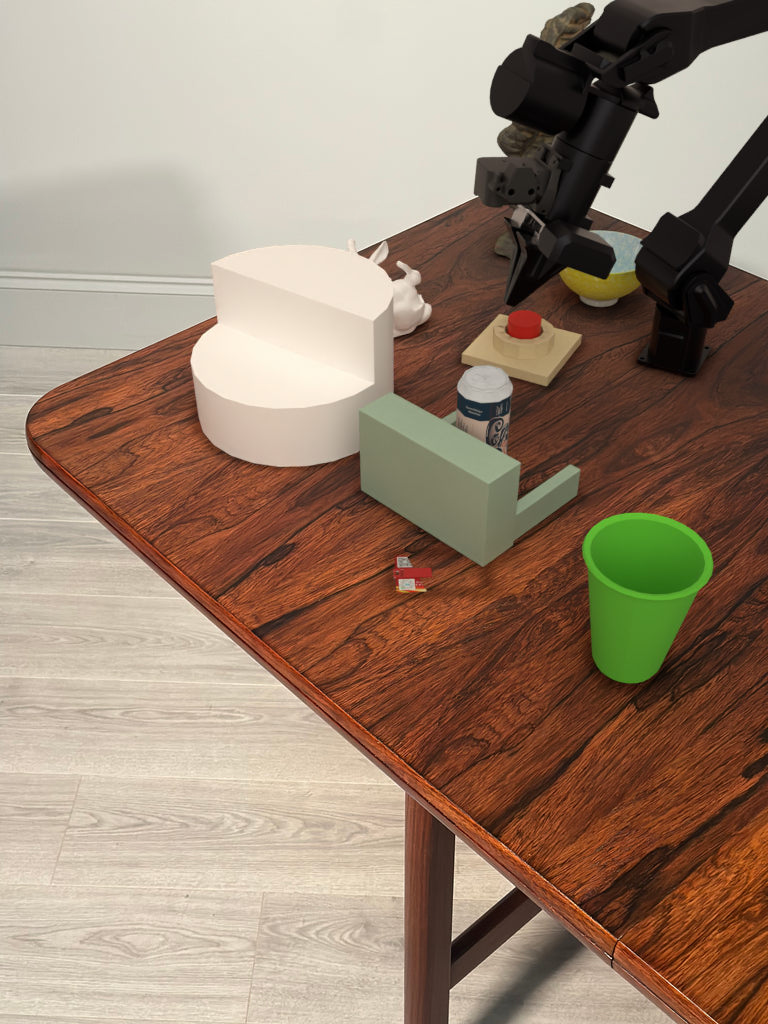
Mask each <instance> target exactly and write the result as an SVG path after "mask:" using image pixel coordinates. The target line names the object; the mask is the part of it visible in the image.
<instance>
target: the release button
mask: <svg viewBox="0 0 768 1024" xmlns="http://www.w3.org/2000/svg"><path fill="white" fill-rule="evenodd" d="M508 316H509V317H508V326H507V333H508V335H510V336H511V337H514V338H518V339H534V338H537V337H539V335H540V332H541V322H542V319H543V318H542V316H541V315H540V314H539V313H537V312H535V311H532V310H526V309H525V310H524V309H523V310H522V309H521V310H516V311H513V312H511V313H510V314H509V315H508Z"/></svg>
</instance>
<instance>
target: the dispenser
mask: <svg viewBox="0 0 768 1024" xmlns="http://www.w3.org/2000/svg"><path fill="white" fill-rule="evenodd" d="M456 414H457V409H455V410H454V411H452V412H450V413H449V414H447V415H446V416H444V417H442V418H440V417H439V416H436V415H434V414H432V413H431V412H429V411H427V410H425V409H423V408H421V407H420V406H418V405H416V404H414V403H413V402H410V401H409V400H407V399H405V398H403V397H401V396H400V395H398V394H396V393H392V392H390V393H388V394H386V395H384V396H382V397H380V398H379V399H377V400H375V401H373V402H371V403H370V404H368V405H366V406H364V407H362V408H360V409H359V438H360V451H359V467H360V468H359V469H360V471H359V473H360V491H361V492H363V493H365V494H366V495H368V496H370V497H371V498H373V499H374V500H375V501H378V503H380V504H382V505H383V506H385V507H387V508H389V509H390V510H392V511H393V512H395V513H396V514H398V515H400V516H401V517H403V518H405V519H406V520H407V521H409V522H411V524H414V525H415V526H417V527H418V528H420V529H422V530H423V531H425V532H426V533H428V534H429V535H431V536H433V537H434V538H436V539H438V540H439V541H441V542H442V543H444V544H445V545H447V546H449V547H450V548H451V549H453V550H455V551H456V552H459V553H460V554H461V555H463V556H464V557H466V558H468V559H469V560H471V561H472V562H474V563H476V564H477V565H479V566H480V567H482V568H484V567H485V566H487V565H488V564H489V563H491V562H492V561H494V560H495V559H496V558H498V557H499V556H501V555H502V554H503V553H505V552H506V551H507V550H509V549H510V548H511V547H513V546H514V542H515V541H516V540H517V539H519V538H520V537H521V536H523V535H524V534H526V533H527V532H529V531H530V530H532V529H533V528H534V527H535V526H537V525H538V524H539V523H541V522H542V521H544V520H545V519H547V518H548V517H549V516H551V515H552V514H553V513H555V512H556V511H557V510H559V509H560V508H561V507H563V506H564V505H566V504H567V503H568V502H570V501H571V500H572V499H574V498H576V496H578V493H579V485H580V484H579V483H580V477H581V471H582V470H581V469H580V468H579V467H577V466H575V465H573V464H571V463H570V464H568V465H567V466H565V467H564V468H563V469H562V470H560V471H558V472H557V473H556V474H554V475H553V476H551V477H549V478H548V479H547V480H545V481H544V482H543V483H541V484H539V485H538V486H537V487H535V488H534V489H532V490H531V491H530V492H528V493H527V494H525V495H524V496H522V497H521V498H520V499H518V498H519V487H520V486H519V485H520V477H521V476H520V475H521V467H522V463H521V461H519V460H517V459H515V458H513V457H512V456H510V455H508V454H507V455H506V454H504V453H502V452H501V451H499V450H497V449H495V448H493V447H491V446H490V445H488V444H486V443H484V442H482V441H480V440H479V439H477V438H475V437H473V436H471V435H469V434H467V433H466V432H464V431H462V430H460V429H458V428H456Z"/></svg>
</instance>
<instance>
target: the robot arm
mask: <svg viewBox="0 0 768 1024" xmlns="http://www.w3.org/2000/svg"><path fill="white" fill-rule="evenodd" d="M766 32H768V0H611V1H610V2H609V3H608V4H606V5H605V6H604V7H603V11H602V13H601V14H600V16H599V17H598V18H597V19H596V20H595V21H593V22H591V23H590V24H589V25H588V26H587V27H586V28H585V29H584V30H582V31H581V32H580V33H578V34H577V35H576V36H574V37H573V38H571V39H570V40H569V41H567V42H566V43H565V44H563V45H562V46H561V47H559V48H558V49H557V48H555V47H554V46H553V45H552V44H550V43H548V42H546V41H544V40H543V39H541V38H540V36H536V35H534V34H532V33H529V34H527V35H525V36H526V37H525V39H524V40H523V41H524V42H523V43H522V45H521V47H520V46H519V47H518V48H516V49H514V50H513V51H511V52H510V53H509V54H508V55H507V56H506V57H505V58H504V60H503V62H502V63H501V64H499V65H497V68H496V70H495V72H494V74H493V77H492V80H491V84H490V89H489V106H490V109H491V111H492V113H493V114H494V115H495V116H497V117H499V118H502V119H504V120H507V121H510V122H511V123H512V122H515V123H517V124H520V125H522V126H525V127H528V128H530V129H533V130H536V131H538V132H541V133H543V134H546V135H550V136H553V135H557V136H555V139H554V141H553V143H552V145H550V144H547V143H545V142H543V145H542V146H541V145H540V146H539V147H538V148H537V151H536V153H535V155H534V156H533V158H522V157H507V156H480V157H478V158H476V163H475V164H476V165H475V173H474V184H473V195H474V196H476V197H478V198H479V199H480V201H481V204H482V205H483V206H484V207H489V208H493V209H498V208H503V207H504V206H508V205H515V206H517V207H516V209H515V211H514V210H513V213H512V216H511V218H510V217H508V216H503V219H502V220H503V223H504V224H505V226H506V228H507V231H509V234H510V236H511V239H512V251H511V259H510V258H509V267H508V271H507V278H506V283H505V290H504V294H503V302H504V303H505V305H507V306H508V307H512V308H516V307H517V306H519V304H521V303H522V302H524V301H525V300H526V299H527V298H529V297H530V296H531V295H532V294H533V293H535V292H536V291H537V290H538V289H540V288H541V287H542V286H544V285H545V284H546V283H547V282H549V281H550V280H551V279H553V278H554V277H556V276H558V275H559V273H560V272H561V271H563V270H564V269H566V268H567V267H569V268H572V269H575V270H577V271H580V272H583V273H586V274H589V275H591V276H594V277H597V278H600V279H603V280H606V279H607V278H608V276H609V274H610V272H611V270H612V268H613V266H614V265H615V263H616V261H617V260H616V256H615V253H614V249H613V247H612V246H611V245H610V244H608V243H607V242H606V241H605V240H604V239H603V238H602V237H601V236H600V235H598V234H596V233H593V232H590V231H591V230H590V229H591V228H592V225H593V224H594V219H592V218H591V217H590V216H589V215H588V214H589V212H590V210H591V208H592V206H593V204H594V202H595V200H596V198H597V196H598V194H599V192H600V190H601V189H602V187H604V188H607V189H609V190H610V189H611V188H612V186H613V184H614V182H615V180H616V177H614V176H613V175H611V173H609V172H610V170H611V168H612V166H613V164H614V161H615V159H616V158H617V156H618V154H619V152H620V150H621V147H622V145H623V144H624V142H625V139H626V138H627V136H628V134H629V132H630V130H631V127H632V126H633V124H634V122H635V120H636V118H637V116H638V114H640V115H642V116H644V117H647V118H650V119H651V120H657V119H658V118H659V117H660V111H659V108H658V104H657V102H656V99H655V95H654V93H655V92H654V91H655V88H654V86H652V85H657V84H658V83H661V82H663V81H665V80H667V79H668V78H671V77H672V76H674V75H677V74H678V73H680V72H683V71H684V70H686V69H688V68H689V67H690V66H691V65H692V64H693V63H694V61H695V60H697V58H698V57H699V56H700V55H701V54H703V53H706V52H707V51H709V50H711V49H715V48H717V47H719V46H723V45H726V44H730V43H733V42H734V43H735V42H737V41H740V40H743V39H747V38H750V37H754V36H757V35H760V34H763V33H766ZM595 79H597V80H595ZM594 80H595V81H594ZM767 198H768V114H767V115H766V116H765V118H763V120H762V121H761V123H760V124H759V125H758V127H756V129H755V130H754V132H753V133H752V134H751V136H750V137H749V138H748V140H746V142H745V143H744V145H743V146H742V147H741V148H740V149H739V150H738V152H737V153H736V155H735V156H734V157H733V158H732V160H731V161H730V163H729V164H728V165H727V166H726V168H725V169H724V170H723V172H722V173H720V175H719V177H718V178H717V179H716V180H715V181H714V183H713V184H712V185H711V187H710V188H709V190H707V192H706V193H705V194H704V196H703V197H702V198H701V199H700V201H699V202H698V203H697V205H695V206H694V208H692V209H690V210H689V211H686V212H685V213H683V214H680V215H678V216H676V215H675V214H673V213H672V212H670V211H666V212H664V214H663V215H661V216H660V217H659V219H658V220H657V222H656V224H655V225H654V227H653V229H652V230H651V231H650V232H649V233H648V235H647V236H645V237H644V238H643V239H642V240H641V241H640V244H641V245H642V248H641V249H640V251H639V252H638V254H637V256H636V258H635V261H634V263H635V275H636V278H637V280H638V281H639V282H640V283H641V289H642V293H643V294H644V295H645V296H646V297H649V298H650V299H651V300H653V301H654V302H656V303H655V308H654V315H653V321H652V326H651V331H650V338H649V340H648V342H647V343H646V345H645V346H644V348H643V349H642V351H641V352H640V354H639V355H638V356H637V360H636V363H637V364H639V365H644V366H646V367H647V366H648V367H650V368H654V369H658V370H663V371H666V372H669V373H674V374H678V375H682V376H685V377H689V378H696V377H697V376H698V374H699V373H700V370H701V369H702V367H703V366H704V364H705V362H706V361H707V359H708V357H709V356H710V354H711V352H712V347H711V346H710V345H706V344H705V343H706V338H707V334H708V329H714V328H715V326H716V325H717V324H718V323H721V322H725V321H726V320H727V319H728V317H729V315H730V313H731V311H732V309H733V307H734V305H735V301H734V299H733V298H732V297H731V296H730V295H729V294H728V293H727V292H726V291H725V290H724V289H723V287H722V286H721V285H720V283H721V281H722V279H723V277H724V276H725V275H726V274H727V272H728V269H729V267H730V263H731V262H730V261H731V256H732V252H733V247H734V246H733V245H734V241H735V238H736V237H737V235H738V234H739V233H740V231H741V230H742V229H743V228H744V227H745V225H746V224H747V223H748V222H749V220H750V219H751V218H752V217H753V215H754V214H755V212H756V211H758V209H759V207H761V205H762V204H763V203H764V202H765V200H766V199H767Z"/></svg>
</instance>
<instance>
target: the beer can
mask: <svg viewBox="0 0 768 1024" xmlns="http://www.w3.org/2000/svg"><path fill="white" fill-rule="evenodd" d="M513 390H514V385H513V382H512V381H511V379H510V376H508V375H507V374H506V373H505V372H504V371H503V370H502V369H500V368H497V367H493V366H490V365H484V366H472V367H470V368H469V369H466V370H465V371H464V373H463V375H462V376H461V377H460V379H459V380H458V382H457V386H456V391H457V392H456V393H457V395H456V410H457V414H456V428H458V429H460V430H462V431H464V432H466V433H467V434H469V435H471V436H473V437H475V438H477V439H479V440H480V441H482V442H484V443H486V444H488V445H490V446H491V447H493V448H495V449H497V450H499V451H501V452H502V453H504V454H506V455H508V444H509V430H510V420H511V407H512V395H513Z"/></svg>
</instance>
